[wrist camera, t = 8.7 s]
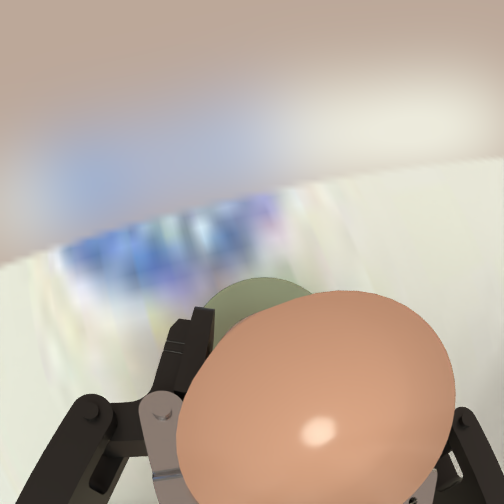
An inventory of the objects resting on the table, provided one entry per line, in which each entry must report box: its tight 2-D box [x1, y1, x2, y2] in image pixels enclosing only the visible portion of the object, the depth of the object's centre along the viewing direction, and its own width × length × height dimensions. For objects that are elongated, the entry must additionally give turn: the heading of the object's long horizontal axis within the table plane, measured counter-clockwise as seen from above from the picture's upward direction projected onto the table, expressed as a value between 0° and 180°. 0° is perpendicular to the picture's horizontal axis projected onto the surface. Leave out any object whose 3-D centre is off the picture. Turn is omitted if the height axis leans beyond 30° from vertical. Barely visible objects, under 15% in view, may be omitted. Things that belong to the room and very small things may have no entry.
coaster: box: [204, 278, 311, 350], centre depth 19 cm, size 10×10×1 cm
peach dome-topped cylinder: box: [176, 291, 455, 504], centre depth 10 cm, size 6×6×11 cm
